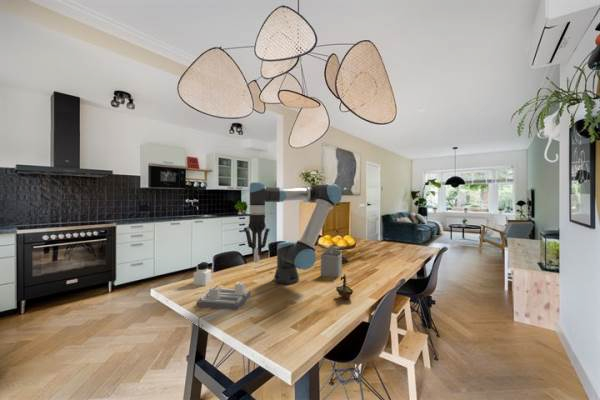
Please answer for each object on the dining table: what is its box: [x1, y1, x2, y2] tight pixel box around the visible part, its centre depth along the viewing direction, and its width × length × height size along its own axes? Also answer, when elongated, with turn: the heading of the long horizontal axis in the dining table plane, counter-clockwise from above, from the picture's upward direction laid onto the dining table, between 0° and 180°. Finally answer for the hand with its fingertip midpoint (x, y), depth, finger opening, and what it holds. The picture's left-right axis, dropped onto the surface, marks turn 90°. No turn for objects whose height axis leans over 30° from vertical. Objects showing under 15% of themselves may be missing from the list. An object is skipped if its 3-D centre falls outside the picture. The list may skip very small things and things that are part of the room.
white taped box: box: [234, 281, 246, 295], centre depth 119 cm, size 4×4×5 cm
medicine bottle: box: [193, 261, 212, 287], centre depth 138 cm, size 7×7×12 cm
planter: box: [320, 244, 343, 279], centre depth 154 cm, size 16×8×19 cm, turn 116°
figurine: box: [335, 274, 354, 299], centre depth 120 cm, size 10×8×12 cm
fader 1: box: [208, 286, 222, 300], centre depth 112 cm, size 4×4×5 cm
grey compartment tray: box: [196, 288, 251, 310], centre depth 116 cm, size 20×16×3 cm
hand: (256, 261), depth 118 cm, fingers closed
